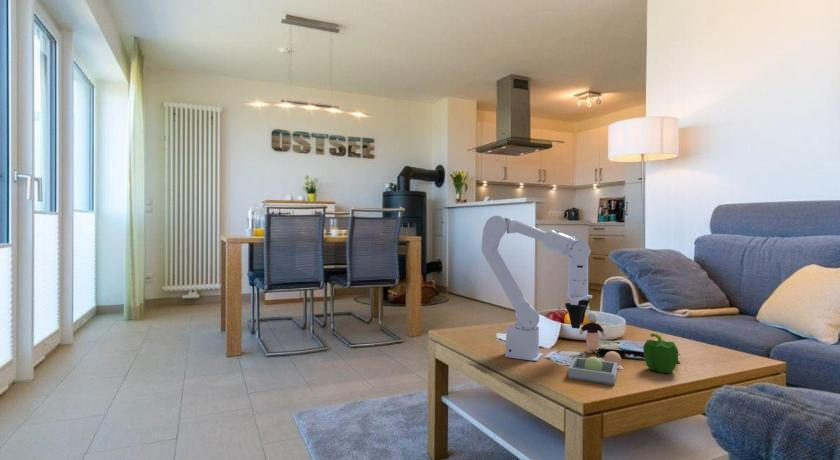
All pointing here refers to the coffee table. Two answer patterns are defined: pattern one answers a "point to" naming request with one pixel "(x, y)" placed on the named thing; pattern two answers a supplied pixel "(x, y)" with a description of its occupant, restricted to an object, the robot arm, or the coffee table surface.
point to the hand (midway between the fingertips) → (577, 325)
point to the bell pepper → (660, 354)
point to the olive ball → (593, 364)
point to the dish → (593, 372)
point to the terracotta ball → (613, 357)
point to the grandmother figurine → (592, 332)
